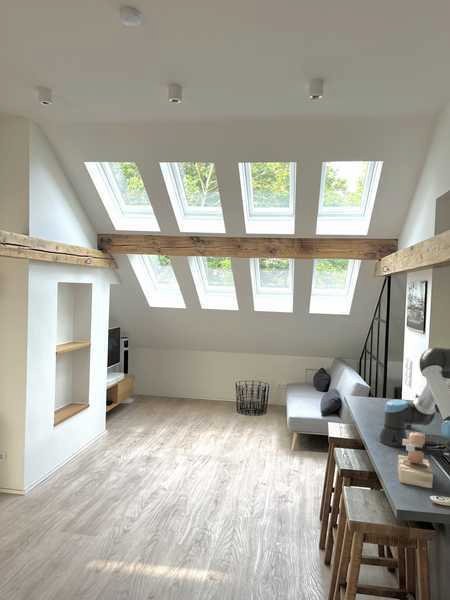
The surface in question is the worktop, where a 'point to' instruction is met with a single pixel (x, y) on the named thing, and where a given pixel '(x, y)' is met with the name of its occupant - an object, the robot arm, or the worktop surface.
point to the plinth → (414, 472)
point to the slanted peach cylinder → (416, 440)
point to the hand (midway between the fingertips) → (404, 444)
